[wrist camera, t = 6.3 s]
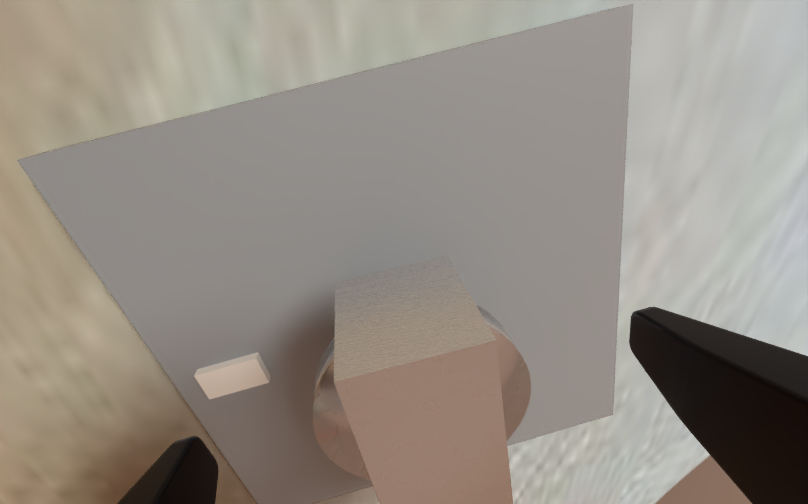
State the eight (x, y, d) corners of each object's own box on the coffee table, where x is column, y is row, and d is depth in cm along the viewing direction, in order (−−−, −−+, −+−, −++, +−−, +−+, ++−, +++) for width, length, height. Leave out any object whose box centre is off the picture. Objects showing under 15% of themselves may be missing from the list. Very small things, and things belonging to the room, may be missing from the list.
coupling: (520, 435, 16) (588, 574, 12) (351, 482, 16) (356, 644, 11) (503, 217, 11) (605, 311, 7) (264, 275, 11) (215, 412, 7)
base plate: (269, 498, 22) (265, 525, 20) (39, 153, 13) (6, 163, 11) (602, 400, 22) (617, 420, 21) (613, 8, 13) (642, 2, 12)
